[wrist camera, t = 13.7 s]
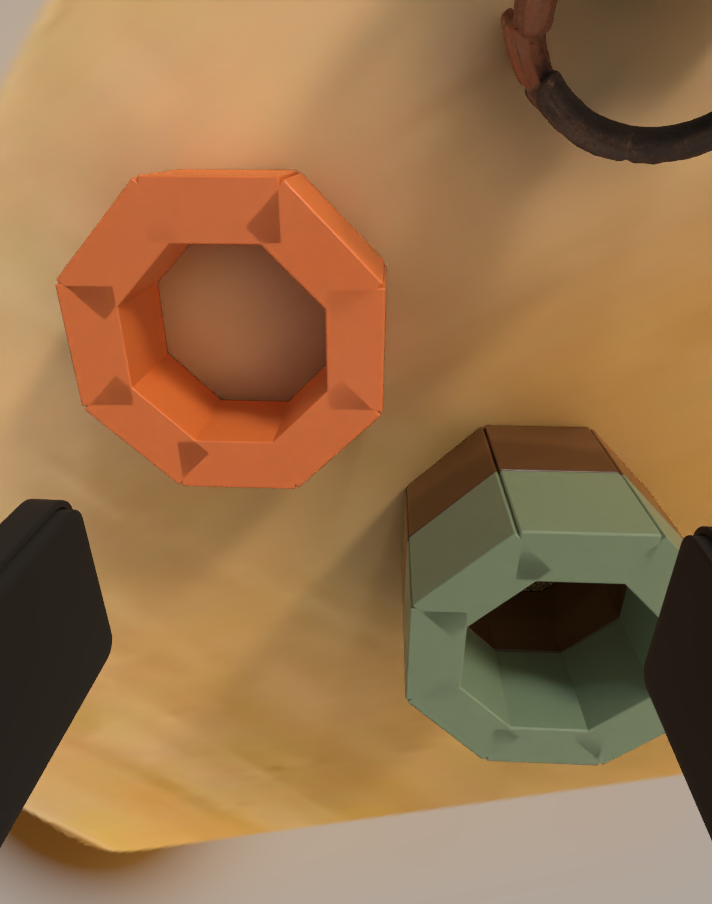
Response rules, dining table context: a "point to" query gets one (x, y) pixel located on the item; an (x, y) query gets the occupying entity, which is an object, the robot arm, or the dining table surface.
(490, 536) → the ring middle
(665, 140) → the brown knot
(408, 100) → the dining table surface
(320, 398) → the ring top
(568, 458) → the ring bottom
